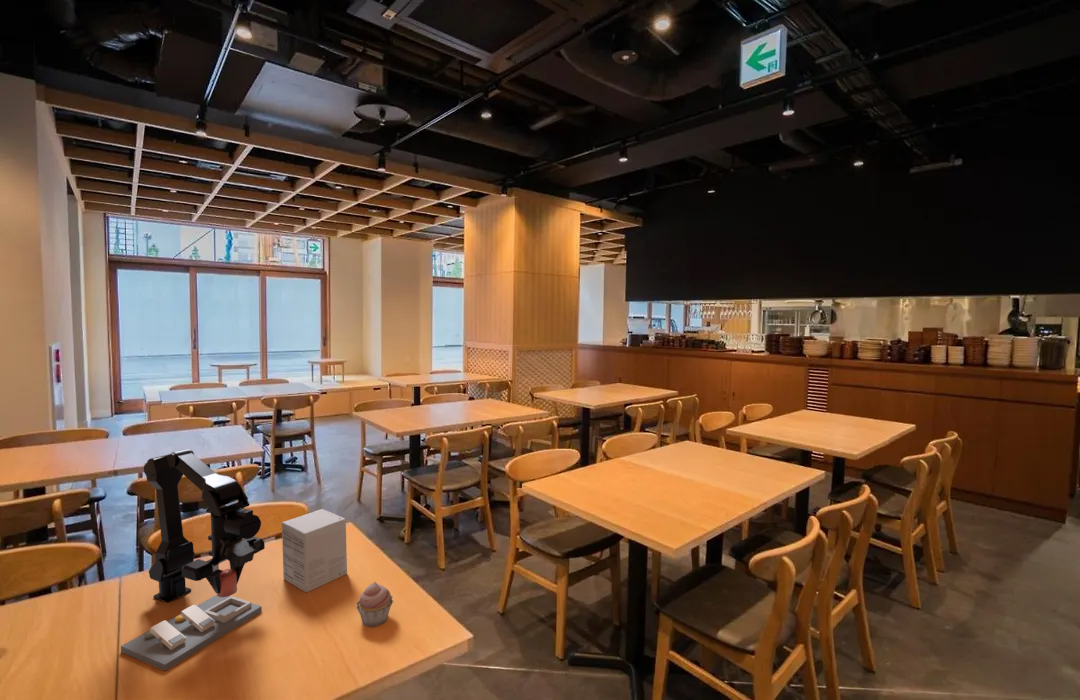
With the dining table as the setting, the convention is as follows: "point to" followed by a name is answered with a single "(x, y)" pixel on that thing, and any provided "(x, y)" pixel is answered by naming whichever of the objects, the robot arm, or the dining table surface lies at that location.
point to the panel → (192, 632)
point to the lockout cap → (228, 583)
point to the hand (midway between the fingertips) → (226, 588)
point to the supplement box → (314, 549)
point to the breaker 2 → (198, 618)
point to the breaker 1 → (168, 634)
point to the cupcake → (374, 605)
